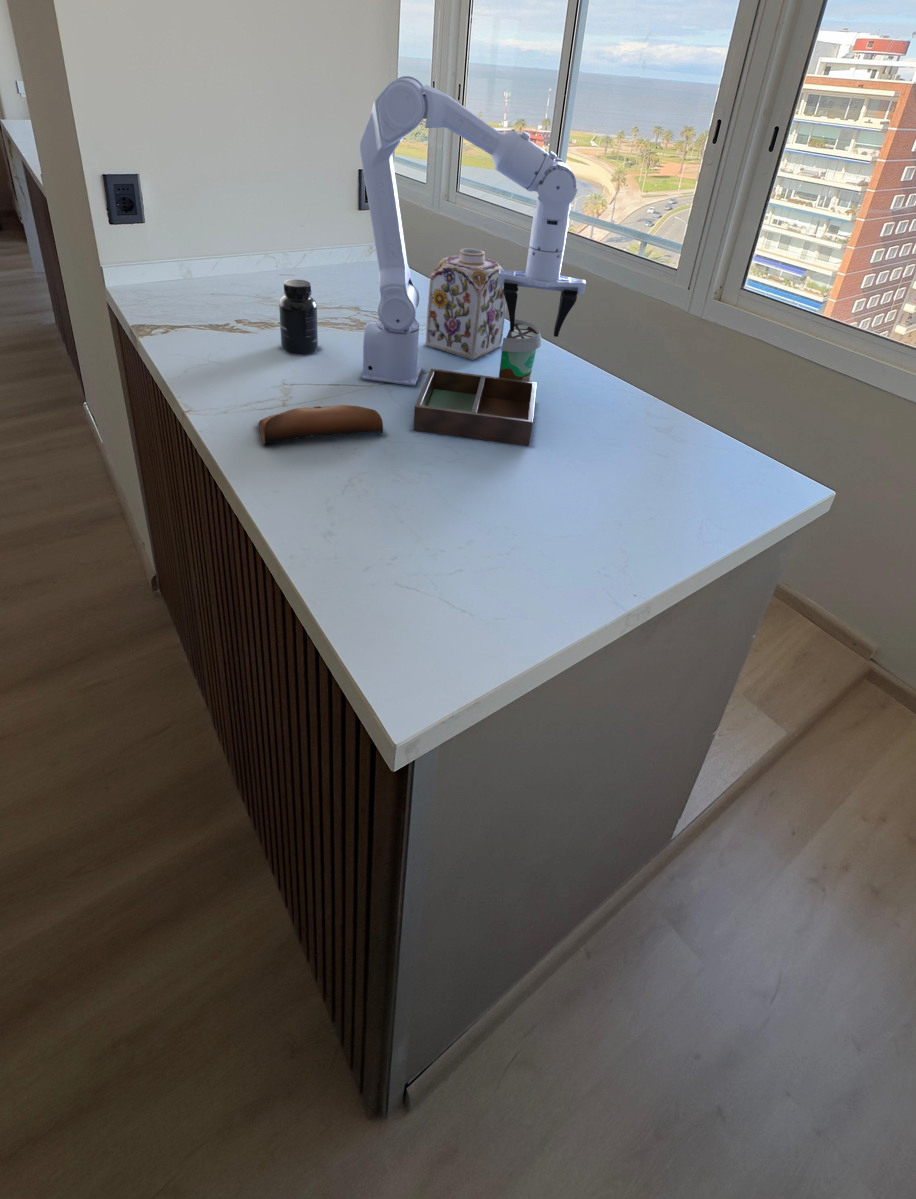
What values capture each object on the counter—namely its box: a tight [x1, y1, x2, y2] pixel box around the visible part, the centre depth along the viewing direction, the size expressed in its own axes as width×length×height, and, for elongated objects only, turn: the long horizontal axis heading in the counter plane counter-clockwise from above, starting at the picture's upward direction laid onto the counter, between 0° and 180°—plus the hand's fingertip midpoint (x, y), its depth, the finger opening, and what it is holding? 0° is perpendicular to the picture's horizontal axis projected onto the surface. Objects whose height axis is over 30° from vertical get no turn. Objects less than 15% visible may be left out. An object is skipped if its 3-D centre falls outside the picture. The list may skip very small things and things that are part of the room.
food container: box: [498, 318, 542, 382], centre depth 130 cm, size 12×6×10 cm, turn 168°
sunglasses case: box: [258, 404, 384, 445], centre depth 110 cm, size 18×7×7 cm
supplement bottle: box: [278, 278, 319, 355], centre depth 134 cm, size 7×7×12 cm
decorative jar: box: [425, 248, 507, 361], centre depth 141 cm, size 12×12×18 cm
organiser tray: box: [413, 368, 537, 447], centre depth 120 cm, size 18×17×4 cm
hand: (533, 332), depth 126 cm, fingers open, 7 cm apart
